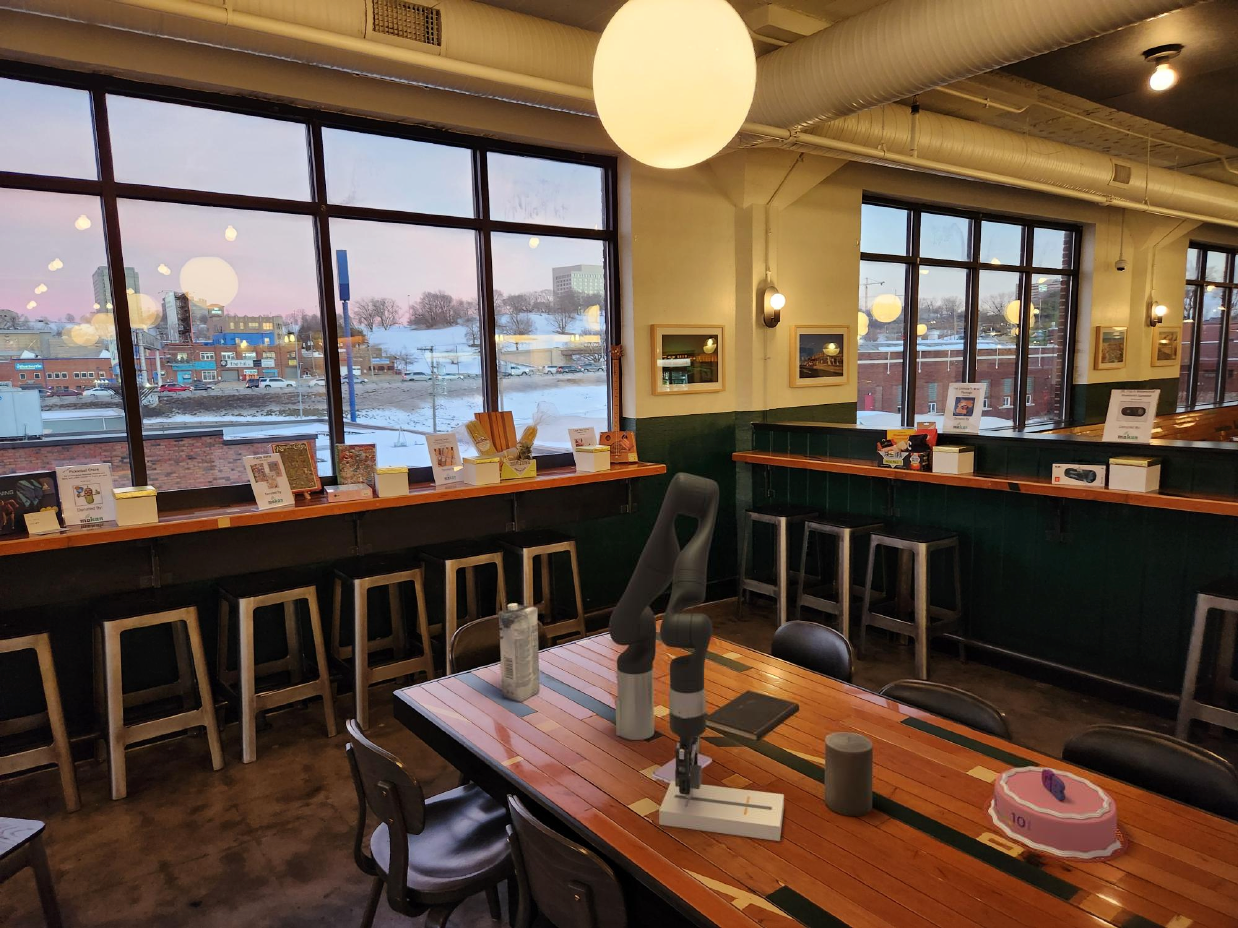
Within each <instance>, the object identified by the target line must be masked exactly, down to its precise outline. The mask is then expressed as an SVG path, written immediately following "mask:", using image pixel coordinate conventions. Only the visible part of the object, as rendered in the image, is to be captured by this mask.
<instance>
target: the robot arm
mask: <svg viewBox="0 0 1238 928" xmlns="http://www.w3.org/2000/svg"><path fill="white" fill-rule="evenodd" d="M670 481H671V482H670V483H669V485H668V487H667V491H666V493H665V496H664V499H663V502H662V505H661V508H660V511H659V514H658V517H657V518H656V519H657V520H656V522H655V524H654V527H653V530H652V531H651V533H650V536H649V538H648V540H647V541H646V544H645V546H644V548H643V551H642V552H641V555H640V557H639V559H638V562H637V564H636V567H635V570H634V572H633V574H632V576H631V579H629V582H628V584H627V587H626V589H625V591H624V593H623V594H622V596H621V598H620V600H619V601H618V602H617V604H616V606H615V607H614V609H613V611H612V614H611V615H610V618H609V623H608V633H609V636H610V638H611V640H612V642H613V643H615V644H616V645H619V646H626V647H627V648H626V649H625V650H623V651H622V652H621V653H620V654H619V655H618V657H617V659H616V675H617V676H616V678H617V679H616V681H617V683H616V685H617V696H616V698H615V700H614V701H615V732H616V733H615V735H616V736H618V737H621V738H623V739H626V740H631V741H642V740H646V739H649V738H651V737H652V736H653V735H654V734H655V705H654V704H655V703H654V701H655V700H654V699H655V698H654V695H655V693H654V661H655V658H656V653H657V652H656V650H657V649H656V648H657V647H656V646H657V645H656V644H657V643H656V642H657V622H656V618H655V614H654V611H653V610H652V609H651V607H650V606H649V605H650V604H652V602H653V601H654V600H656V598H658V597H659V596H660V595H661V594H662V593H663V592H664V591H665V590H666V589H668V586H669V585H670V584H671V582H672V585H671V587H672V588H671V594H670V598H669V601H668V604H667V608H666V610H665V613H664V614H663V617H662V620H661V622H660V627H659V636H660V639H661V641H662V644H664V645H665V646H666V647H668V648H678V649H680V648H681V649H694V651H692V653H688V654H685V655H680V656H676V657H674V658H672V660H671V661H670V663H669V697H668V703H669V705H668V706H669V707H668V708H669V709H668V710H669V711H668V712H669V730H670V731H671V733H672V734H673V735H675V736H677V737H678V738H679V739H678V740H677V741H676V748H675V751H674V752H675V758H676V774H675V776H676V778H679V793H680V794H685V795H689V794H690V791H691V790H690V776H691V767H692V766H693V765H698V754H700V748H701V735H702V734H704V733H705V732H706V729H707V725H706V716H707V701H706V698H707V697H706V691H705V665H706V658H707V652H708V649H709V646H710V643H711V640H712V639H711V638H712V636H713V635H712V634H713V623H712V620H711V619H710V617H709V616H708V615H706V614H704V613H701V612H700V613H697V612H683V611H684V610H685V609H687V608H690V607H691V608H692V607H697V606H700V605H702V603H704V601H705V599H706V591H707V571H708V570H707V569H708V560H709V554H710V550H711V549H710V548H711V544H712V540H713V533H714V531H715V530H714V529H715V524H716V519H717V513H718V508H719V500H720V488H719V485H718V483H717V481H715V480H713V479H710V478H706V477H703V476H699V475H695V474H690V473H687V472H678V473H675V475H674V476H673V478H672V479H671V480H670ZM679 514H680V515H684V516H689V517H692V518H696V519H698V526H697V530H696V532H695V534H694V535H693V536H692V537H691V539H690V540H689V542H688V543H687V544H686V545H685V546H684V547H683V548H682V550H681V548H680V545H679V542H678V538H677V534H676V529H675V524H674V523H675V521H676V517H677V516H678V515H679ZM682 767H684V768H685V771H682V770H681V768H682Z"/></svg>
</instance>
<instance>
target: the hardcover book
mask: <svg viewBox="0 0 1238 928" xmlns="http://www.w3.org/2000/svg"><path fill="white" fill-rule="evenodd" d="M799 711H800V705H799V703H797V702H793V701H790V700H786V699H783V698H779V697H775V696H771V695H767V694H763V693H761V692H760V693H759V692H757V691H753V690H749V689H748V690H747V691H745V692H743V693H741V694H740V695H739V696H737V697H735V698H734V699H731V701H729V702H727V703H725V704H724V705H722V706H720V707H719V708H718V709H715V711H714V710H713V711H712V712H711V713H709V714H707V715H706V726H710V727H712V728H715V729H719V730H722V731H726V732H728V733H732V734H735V735H738V736H741V737H744V738H747V739H751V740H754V741H756V742H758V741H759V740H761V739H762V738H763V737H765V736H766V735H767V734H769V733H770V732H772V731H774V729H775V728H777V727H779V726H780V725H781V724H782V723H784V722H785V721H786V720H787V719H789V718H791V717H792V716H793V715H794V714H796V713H797V712H799Z"/></svg>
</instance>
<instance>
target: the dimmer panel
mask: <svg viewBox="0 0 1238 928" xmlns="http://www.w3.org/2000/svg"><path fill="white" fill-rule="evenodd" d="M784 800H785V794H783V793H782V794H781V793H774V792H767V791H766V792H765V791H758V790H749V789H739V788H733V787H724V786H716V785H708V784H701V786H700V789H693V798H691V799H687V798H685V794H680V793H679V787H676V786H675V781H671V783H669V785H668V788H667V790H666V792H665V795H664V798H663V800H662V802H661V805H660V807H659V810H658V820H659V823H658V824H659V825H661V826H667V827H675V828H682V829H689V830H695V831H696V830H697V831H703V832H710V833H717V834H718V833H719V834H726V835H732V836H740V837H746V838H747V837H748V838H754V839H761V840H769V841H776V842H781V835H782V834H781V833H782V826H783V817H784V809H785V801H784Z"/></svg>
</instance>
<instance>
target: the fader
mask: <svg viewBox="0 0 1238 928" xmlns="http://www.w3.org/2000/svg"><path fill="white" fill-rule="evenodd" d="M702 769H703V768H702V766H701V765H693V766H692V767H691V776H690V790H691V791H690V794H689V795H685V798H687V799H691V798H693V789H700V786H701V785H702V782H703V772H702V771H703V770H702ZM681 770H682V771H685V768H684V767H682V768H681ZM675 774H676V769H675ZM675 786H676V787H679V778H676V776H675Z"/></svg>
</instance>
